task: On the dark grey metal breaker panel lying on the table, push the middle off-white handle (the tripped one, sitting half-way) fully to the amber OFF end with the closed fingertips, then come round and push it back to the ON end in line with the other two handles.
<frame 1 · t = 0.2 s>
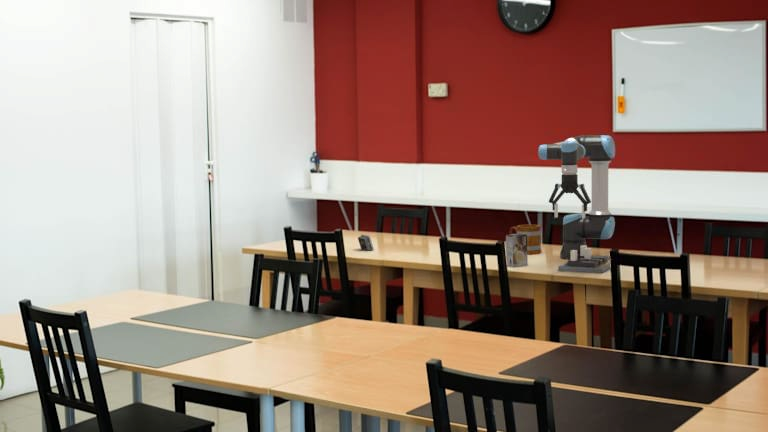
hand: (569, 217, 492), 27 cm above the table, fingers open, 13 cm apart
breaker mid: (587, 253, 510), point 7 cm above the table, slide at 0.0 cm
coffee box: (516, 265, 525), on the table
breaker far: (583, 250, 519), point 7 cm above the table, slide at -4.5 cm
breaker near: (573, 255, 505), point 7 cm above the table, slide at -4.5 cm
mug: (524, 252, 566), on the table
panel: (587, 267, 511), on the table
electrical switch: (366, 250, 590), on the table
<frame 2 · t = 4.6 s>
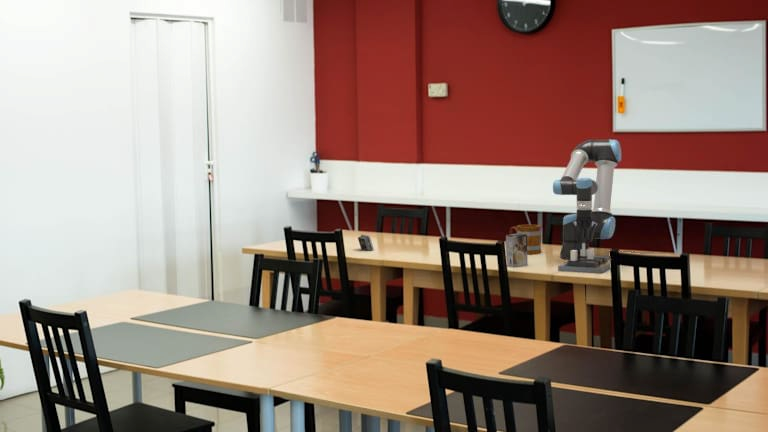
hand: (584, 255, 511), 6 cm above the table, fingers closed
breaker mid: (590, 253, 510), point 7 cm above the table, slide at 1.5 cm, touching gripper
everything else where it was.
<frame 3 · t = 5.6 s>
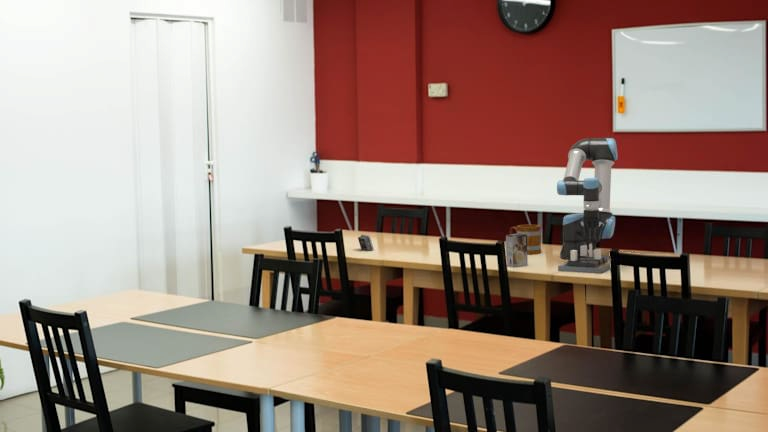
hand: (591, 256, 510), 6 cm above the table, fingers closed
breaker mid: (597, 254, 508), point 7 cm above the table, slide at 5.1 cm, touching gripper
everything else where it was.
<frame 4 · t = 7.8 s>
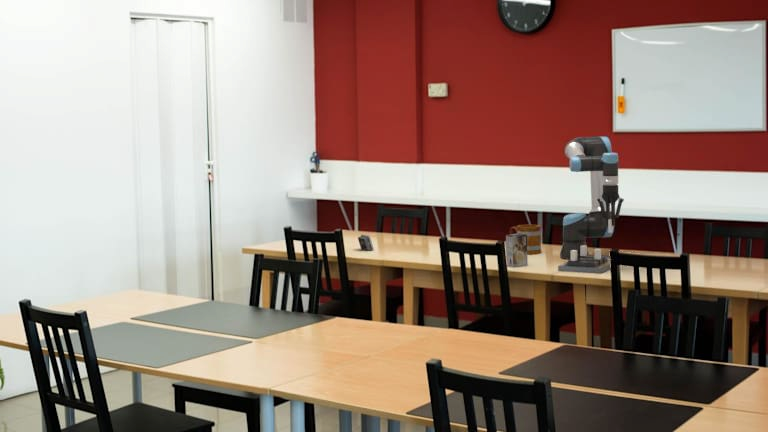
hand: (610, 232, 503), 19 cm above the table, fingers closed
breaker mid: (597, 254, 508), point 7 cm above the table, slide at 5.1 cm
everything else where it was.
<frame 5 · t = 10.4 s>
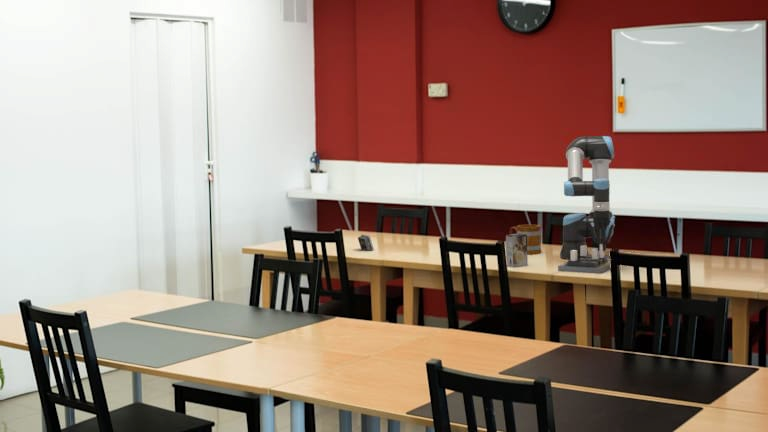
hand: (601, 257, 507), 6 cm above the table, fingers closed
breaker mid: (595, 253, 509), point 7 cm above the table, slide at 3.9 cm, touching gripper
everything else where it was.
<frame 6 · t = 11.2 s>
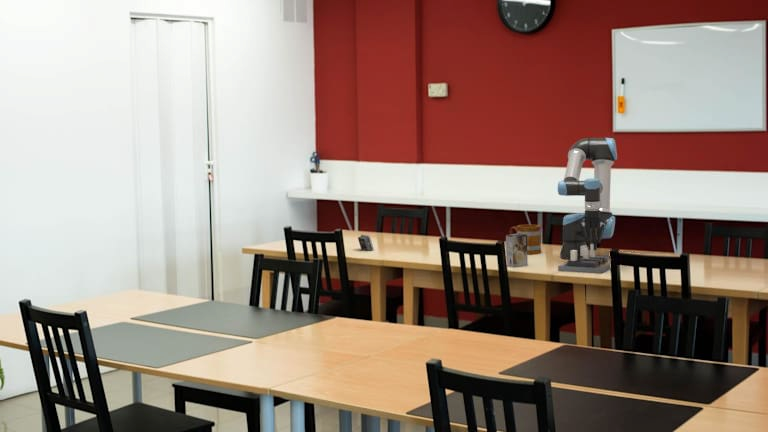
hand: (592, 256, 510), 6 cm above the table, fingers closed
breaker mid: (586, 253, 511), point 7 cm above the table, slide at -0.7 cm, touching gripper
everything else where it was.
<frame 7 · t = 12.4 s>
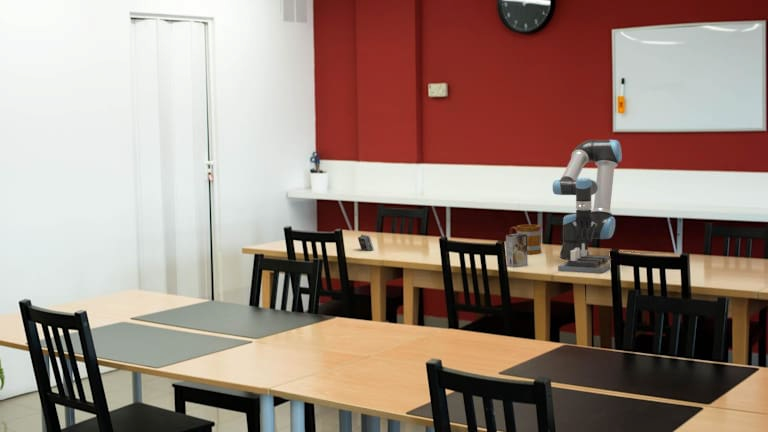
hand: (584, 256, 511), 6 cm above the table, fingers closed
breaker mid: (577, 253, 513), point 7 cm above the table, slide at -5.1 cm, touching gripper
everything else where it was.
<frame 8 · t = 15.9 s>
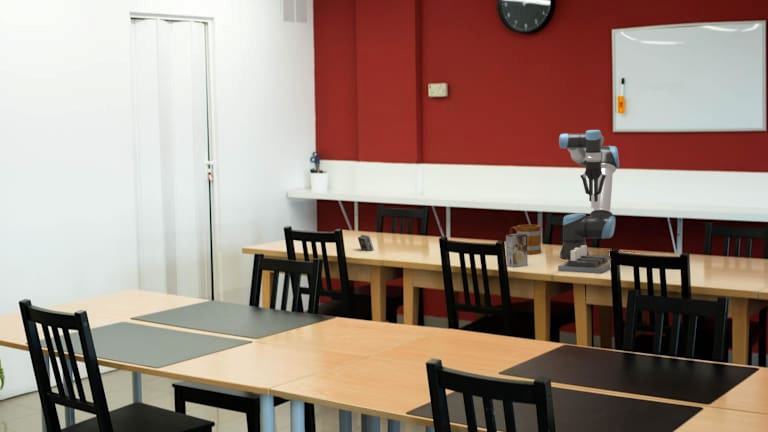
hand: (593, 208, 513), 29 cm above the table, fingers closed
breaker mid: (577, 253, 513), point 7 cm above the table, slide at -5.2 cm
everything else where it was.
at the end: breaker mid slide at -5.2 cm; breaker near slide at -4.5 cm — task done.
